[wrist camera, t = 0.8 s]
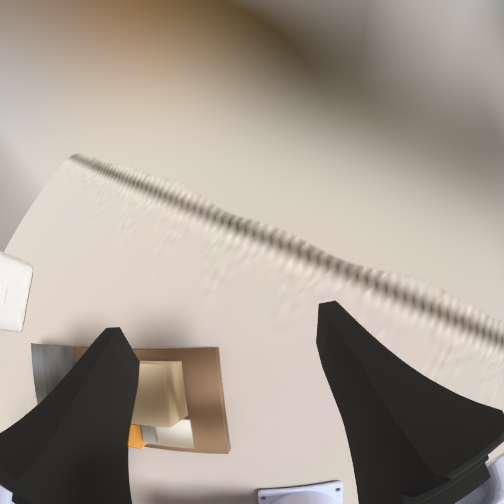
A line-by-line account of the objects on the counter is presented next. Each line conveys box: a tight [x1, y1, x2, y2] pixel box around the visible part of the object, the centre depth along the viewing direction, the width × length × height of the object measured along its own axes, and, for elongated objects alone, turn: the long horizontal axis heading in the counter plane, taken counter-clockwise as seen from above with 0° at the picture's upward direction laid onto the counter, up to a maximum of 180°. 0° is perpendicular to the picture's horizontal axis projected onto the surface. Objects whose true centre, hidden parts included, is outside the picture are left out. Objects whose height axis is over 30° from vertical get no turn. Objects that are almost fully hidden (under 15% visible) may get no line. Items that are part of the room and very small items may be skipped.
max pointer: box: [128, 423, 148, 449], centre depth 18 cm, size 2×2×2 cm, turn 6°
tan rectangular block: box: [131, 361, 188, 444], centre depth 18 cm, size 8×4×4 cm, turn 6°
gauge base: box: [31, 343, 231, 454], centre depth 19 cm, size 10×18×6 cm, turn 96°
